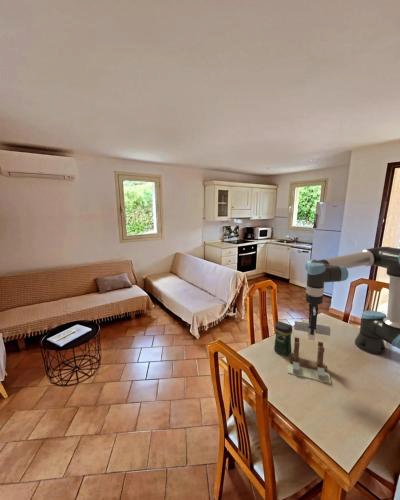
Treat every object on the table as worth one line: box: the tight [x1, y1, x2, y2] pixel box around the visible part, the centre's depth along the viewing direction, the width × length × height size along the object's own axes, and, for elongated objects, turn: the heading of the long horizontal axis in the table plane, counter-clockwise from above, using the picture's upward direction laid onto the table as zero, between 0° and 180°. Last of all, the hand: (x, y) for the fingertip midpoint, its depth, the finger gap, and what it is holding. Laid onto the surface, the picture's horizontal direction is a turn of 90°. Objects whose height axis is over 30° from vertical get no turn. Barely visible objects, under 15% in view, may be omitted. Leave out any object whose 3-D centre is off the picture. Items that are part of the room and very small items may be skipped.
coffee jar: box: [273, 320, 293, 357], centre depth 133 cm, size 10×8×19 cm
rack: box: [289, 336, 327, 372], centre depth 122 cm, size 18×6×13 cm, turn 68°
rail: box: [293, 320, 331, 337], centre depth 112 cm, size 16×3×3 cm, turn 68°
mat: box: [287, 362, 332, 385], centre depth 116 cm, size 20×7×3 cm, turn 68°
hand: (311, 337), depth 113 cm, fingers closed on rail, 3 cm apart
